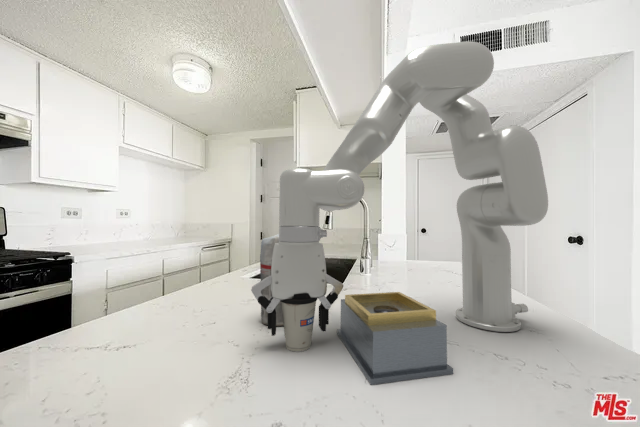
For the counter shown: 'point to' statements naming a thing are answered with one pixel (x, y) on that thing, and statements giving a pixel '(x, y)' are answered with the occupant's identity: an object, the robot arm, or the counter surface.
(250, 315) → the counter surface
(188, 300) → the counter surface
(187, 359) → the counter surface
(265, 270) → the spray can
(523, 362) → the counter surface
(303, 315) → the coffee cup
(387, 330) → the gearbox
